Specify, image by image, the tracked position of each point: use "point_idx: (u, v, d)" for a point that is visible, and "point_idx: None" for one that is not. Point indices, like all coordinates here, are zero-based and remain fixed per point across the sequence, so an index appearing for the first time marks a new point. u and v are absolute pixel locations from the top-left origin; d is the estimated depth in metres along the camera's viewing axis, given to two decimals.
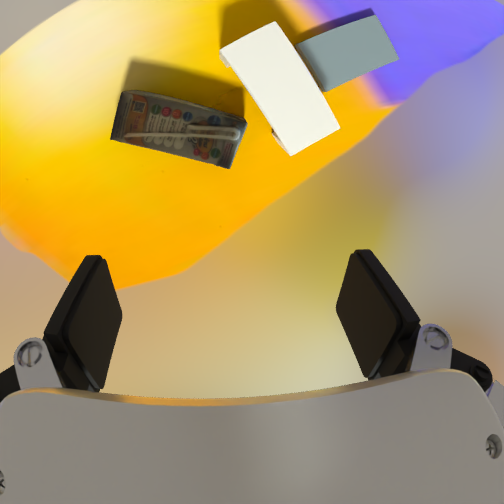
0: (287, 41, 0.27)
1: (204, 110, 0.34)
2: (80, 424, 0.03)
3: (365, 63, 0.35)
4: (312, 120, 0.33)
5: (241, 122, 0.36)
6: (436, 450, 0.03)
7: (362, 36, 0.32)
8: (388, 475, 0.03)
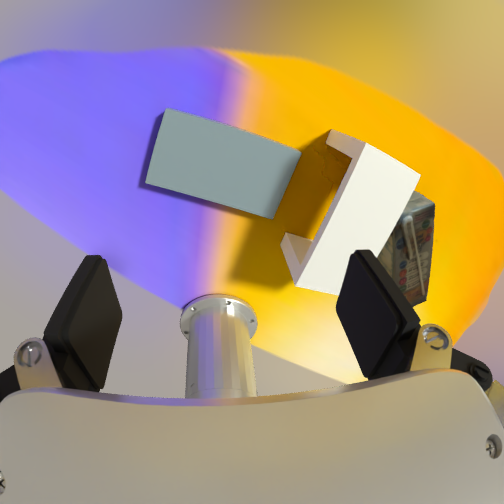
0: (309, 263, 0.30)
1: (394, 256, 0.35)
2: (80, 424, 0.03)
3: (222, 139, 0.29)
4: (377, 180, 0.25)
5: None
6: (436, 450, 0.03)
7: (192, 170, 0.30)
8: (388, 475, 0.03)
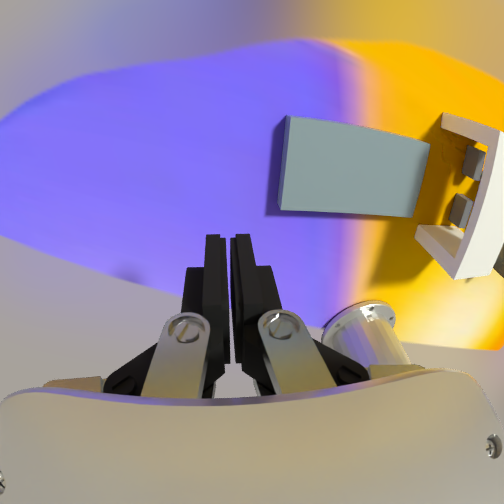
0: (465, 255, 0.23)
1: None
2: (80, 424, 0.03)
3: (360, 143, 0.24)
4: None
5: None
6: (436, 450, 0.03)
7: (333, 184, 0.26)
8: (388, 475, 0.03)
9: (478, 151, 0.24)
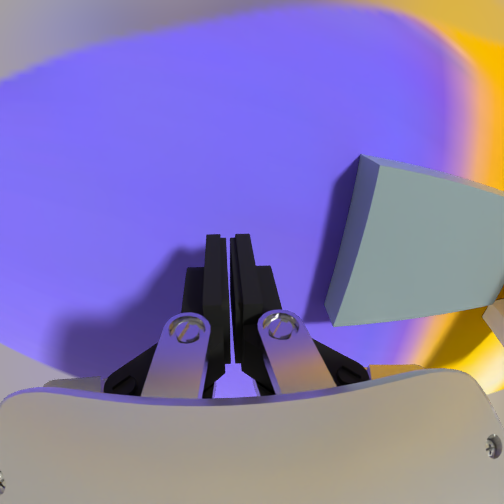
0: None
1: None
2: (80, 424, 0.03)
3: (471, 214, 0.12)
4: None
5: None
6: (436, 450, 0.03)
7: (421, 282, 0.14)
8: (388, 475, 0.03)
9: None
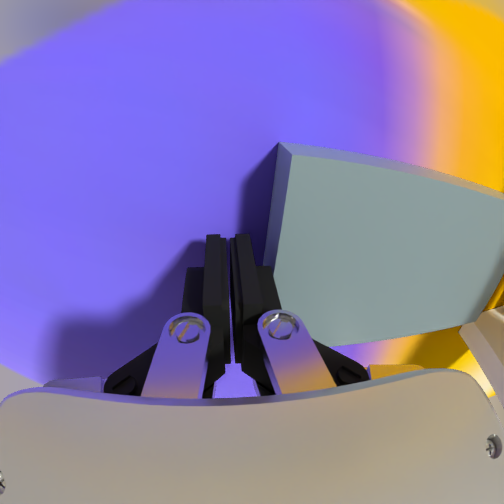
0: None
1: None
2: (80, 424, 0.03)
3: (442, 218, 0.10)
4: None
5: None
6: (436, 450, 0.03)
7: (373, 302, 0.12)
8: (388, 475, 0.03)
9: None
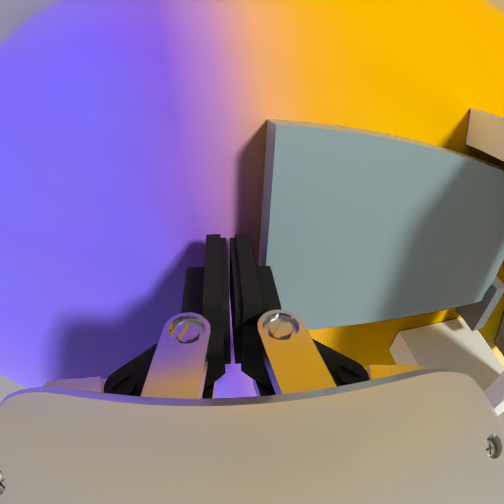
0: None
1: None
2: (80, 424, 0.03)
3: (438, 187, 0.10)
4: None
5: None
6: (436, 450, 0.03)
7: (373, 278, 0.12)
8: (388, 475, 0.03)
9: None
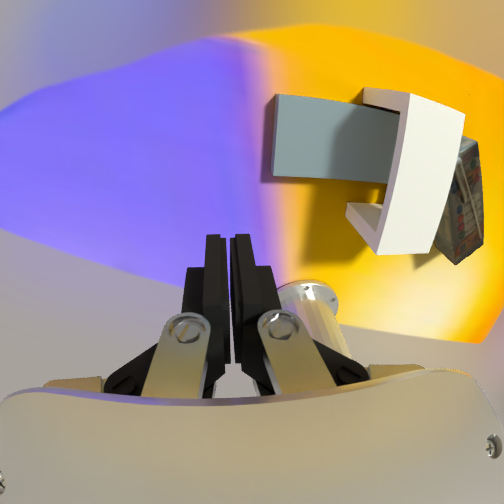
0: (385, 228, 0.26)
1: (450, 201, 0.29)
2: (80, 424, 0.03)
3: (342, 116, 0.27)
4: (429, 128, 0.21)
5: None
6: (436, 450, 0.03)
7: (319, 152, 0.29)
8: (388, 475, 0.03)
9: None
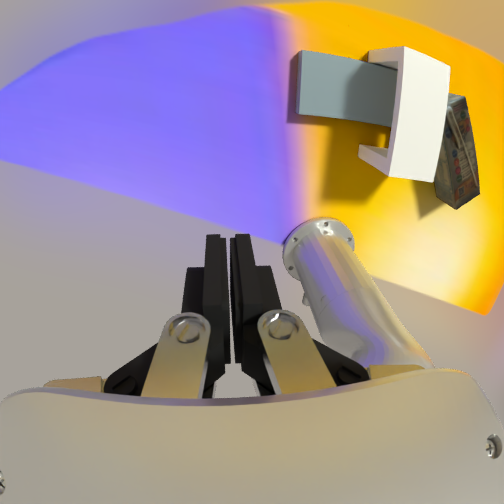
0: (394, 151, 0.29)
1: (446, 145, 0.32)
2: (80, 424, 0.03)
3: (352, 69, 0.30)
4: (422, 73, 0.24)
5: None
6: (436, 450, 0.03)
7: (335, 97, 0.32)
8: (388, 475, 0.03)
9: None
